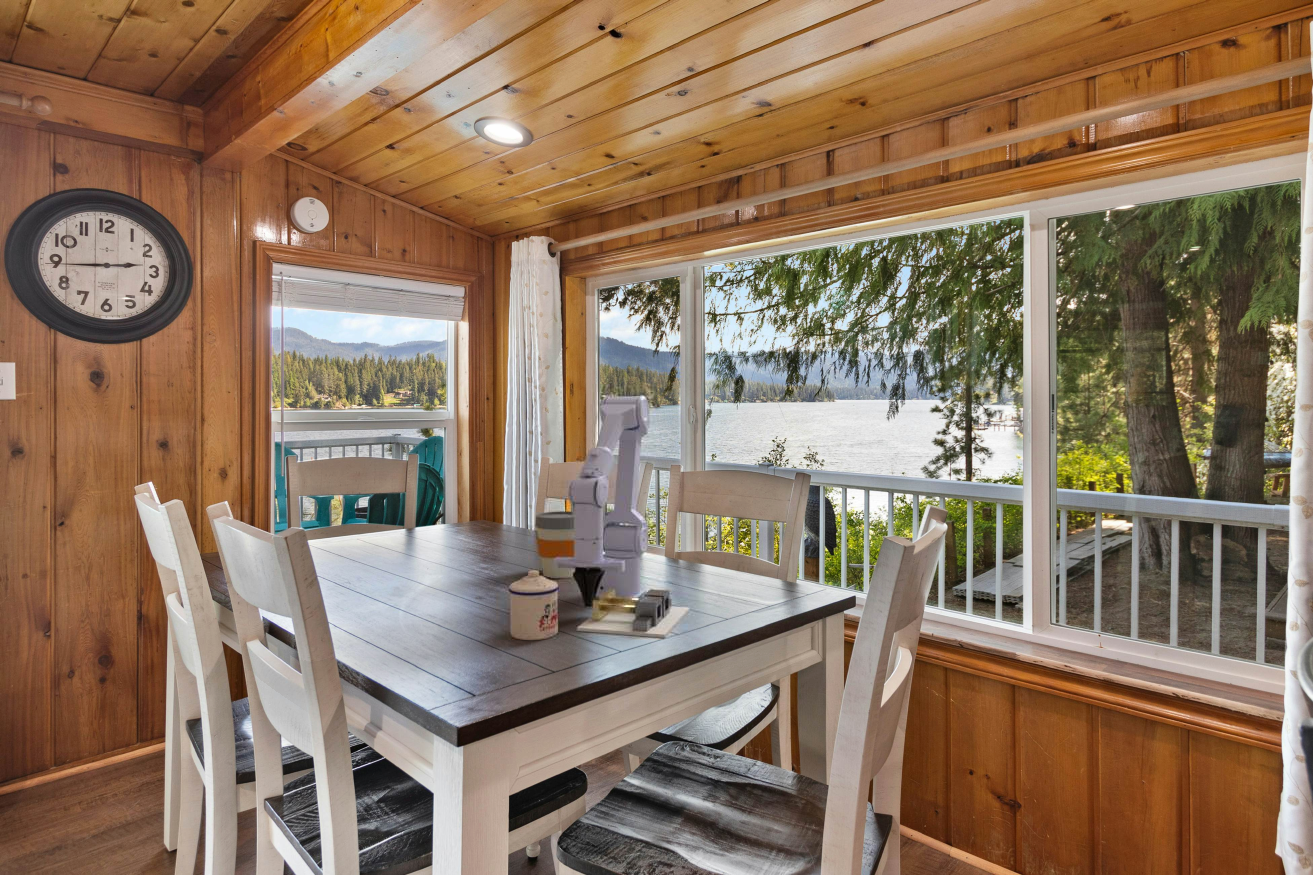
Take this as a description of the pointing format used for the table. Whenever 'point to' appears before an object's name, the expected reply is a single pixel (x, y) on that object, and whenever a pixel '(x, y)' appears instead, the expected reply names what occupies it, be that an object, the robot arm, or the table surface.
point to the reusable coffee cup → (555, 541)
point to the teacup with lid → (533, 607)
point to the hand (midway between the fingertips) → (589, 605)
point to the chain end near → (647, 613)
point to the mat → (624, 624)
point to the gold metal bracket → (612, 604)
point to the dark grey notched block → (665, 599)
